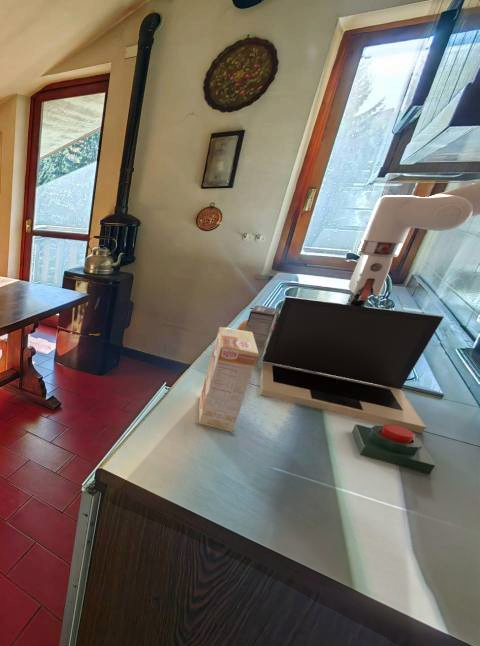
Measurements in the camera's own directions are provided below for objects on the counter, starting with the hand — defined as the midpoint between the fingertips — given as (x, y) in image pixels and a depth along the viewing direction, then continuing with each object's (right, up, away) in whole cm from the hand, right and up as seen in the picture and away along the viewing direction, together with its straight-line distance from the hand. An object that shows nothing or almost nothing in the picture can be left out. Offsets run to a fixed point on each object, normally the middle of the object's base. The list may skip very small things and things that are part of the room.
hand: (349, 318), depth 104 cm
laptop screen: (-1, -6, +1) cm, 6 cm away
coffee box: (-11, -11, +21) cm, 26 cm away
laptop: (-6, -20, -1) cm, 21 cm away
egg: (-6, -7, +31) cm, 33 cm away
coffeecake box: (-42, -24, -10) cm, 49 cm away
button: (-14, -27, -24) cm, 39 cm away
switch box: (-14, -30, -23) cm, 40 cm away
